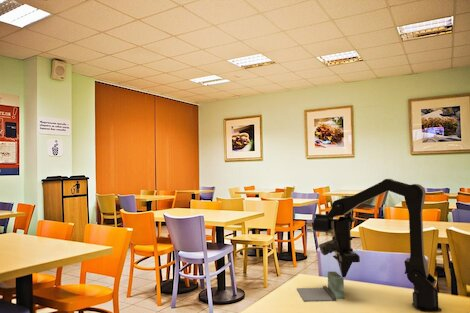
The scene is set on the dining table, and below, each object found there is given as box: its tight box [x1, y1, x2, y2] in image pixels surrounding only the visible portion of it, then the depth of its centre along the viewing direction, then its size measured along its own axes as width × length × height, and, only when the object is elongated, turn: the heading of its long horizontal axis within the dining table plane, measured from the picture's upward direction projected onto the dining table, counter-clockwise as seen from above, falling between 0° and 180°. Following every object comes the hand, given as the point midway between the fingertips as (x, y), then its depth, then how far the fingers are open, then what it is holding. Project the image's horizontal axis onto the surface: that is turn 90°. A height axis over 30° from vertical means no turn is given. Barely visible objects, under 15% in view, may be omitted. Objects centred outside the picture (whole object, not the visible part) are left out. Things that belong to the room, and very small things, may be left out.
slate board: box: [296, 285, 337, 302], centre depth 133 cm, size 11×14×1 cm
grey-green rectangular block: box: [327, 270, 345, 300], centre depth 134 cm, size 3×10×7 cm, turn 1°
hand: (343, 277), depth 134 cm, fingers closed
